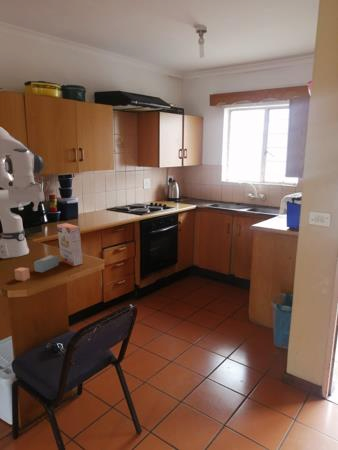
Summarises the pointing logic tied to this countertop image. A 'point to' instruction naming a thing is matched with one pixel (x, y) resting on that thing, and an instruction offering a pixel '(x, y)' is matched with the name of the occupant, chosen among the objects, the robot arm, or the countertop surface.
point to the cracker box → (70, 244)
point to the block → (22, 273)
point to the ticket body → (46, 263)
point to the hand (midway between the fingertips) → (28, 210)
